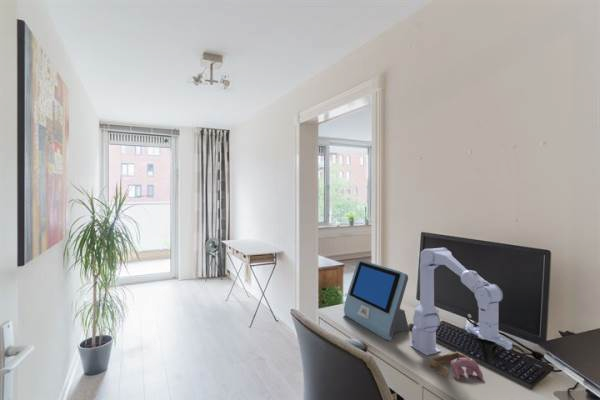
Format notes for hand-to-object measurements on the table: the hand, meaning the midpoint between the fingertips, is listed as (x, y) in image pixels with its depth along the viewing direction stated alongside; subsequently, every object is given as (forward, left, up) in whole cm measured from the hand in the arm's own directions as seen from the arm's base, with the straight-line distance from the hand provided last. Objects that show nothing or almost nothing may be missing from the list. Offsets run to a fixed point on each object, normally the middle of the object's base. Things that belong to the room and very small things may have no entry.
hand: (488, 361), depth 106 cm
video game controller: (-8, 0, -9) cm, 12 cm away
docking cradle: (-14, 0, -9) cm, 17 cm away
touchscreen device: (-59, 0, -10) cm, 59 cm away
